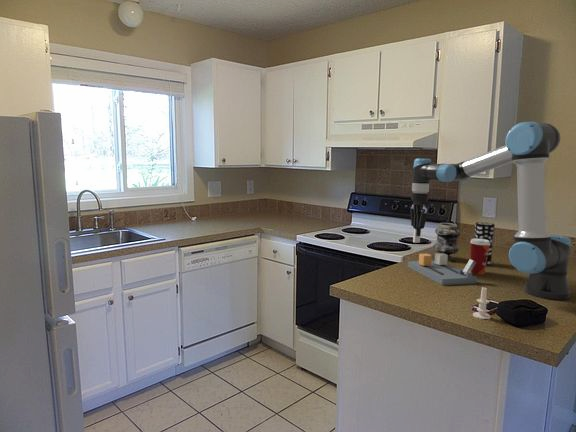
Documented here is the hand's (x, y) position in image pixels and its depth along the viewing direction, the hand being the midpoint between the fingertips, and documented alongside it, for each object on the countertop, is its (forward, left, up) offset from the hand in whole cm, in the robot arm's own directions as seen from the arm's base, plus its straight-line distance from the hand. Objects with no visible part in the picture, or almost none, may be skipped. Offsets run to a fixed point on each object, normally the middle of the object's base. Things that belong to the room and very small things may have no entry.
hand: (416, 242), depth 195 cm
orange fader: (-8, 0, -9) cm, 12 cm away
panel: (-14, -4, -12) cm, 19 cm away
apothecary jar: (+11, -23, -12) cm, 28 cm away
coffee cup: (-14, -23, -12) cm, 30 cm away
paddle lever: (-25, -9, -8) cm, 28 cm away
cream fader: (-8, -8, -9) cm, 14 cm away
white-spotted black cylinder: (-1, -35, -12) cm, 37 cm away
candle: (-60, +10, -12) cm, 62 cm away
